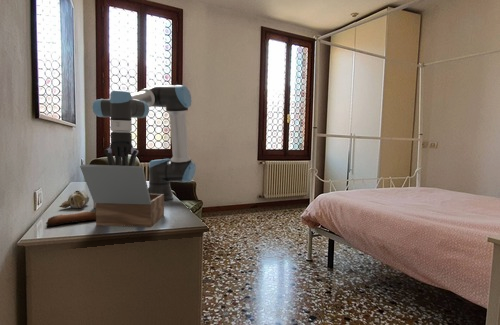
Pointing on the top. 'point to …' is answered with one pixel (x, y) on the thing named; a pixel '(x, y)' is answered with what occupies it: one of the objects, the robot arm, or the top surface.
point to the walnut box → (131, 213)
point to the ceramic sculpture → (76, 200)
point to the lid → (116, 184)
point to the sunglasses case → (71, 218)
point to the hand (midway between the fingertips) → (122, 191)
